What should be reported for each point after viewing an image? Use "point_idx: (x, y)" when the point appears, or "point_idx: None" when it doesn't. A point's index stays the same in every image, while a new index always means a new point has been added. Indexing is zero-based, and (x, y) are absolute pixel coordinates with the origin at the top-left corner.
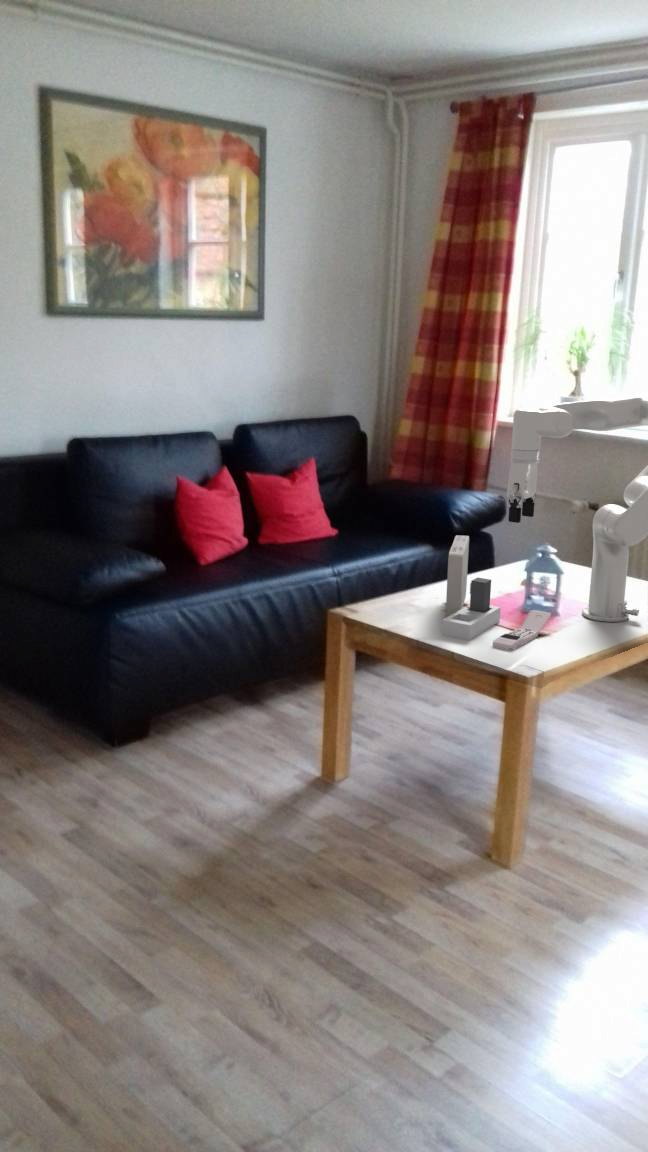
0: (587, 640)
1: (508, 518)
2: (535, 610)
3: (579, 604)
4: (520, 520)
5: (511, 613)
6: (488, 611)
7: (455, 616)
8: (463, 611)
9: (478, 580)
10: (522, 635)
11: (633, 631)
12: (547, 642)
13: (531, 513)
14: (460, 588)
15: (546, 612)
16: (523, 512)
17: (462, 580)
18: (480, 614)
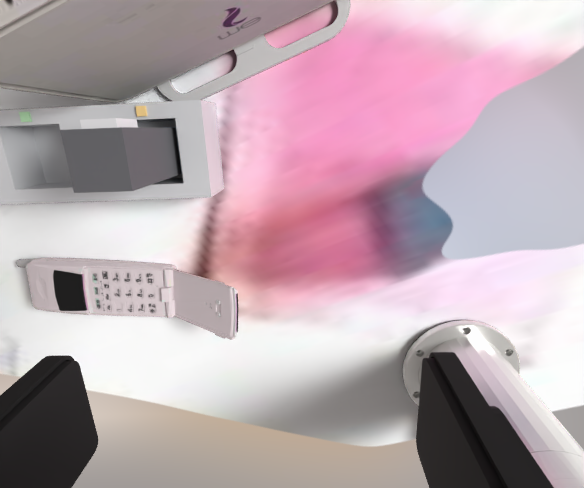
0: (248, 388)
1: (31, 369)
2: (234, 296)
3: (538, 287)
4: (82, 463)
5: (345, 170)
6: (145, 187)
7: (36, 124)
8: None
9: (83, 154)
10: (113, 302)
11: (370, 440)
12: (177, 330)
13: (424, 468)
14: (53, 93)
15: (234, 325)
16: (433, 390)
17: (104, 63)
18: None
